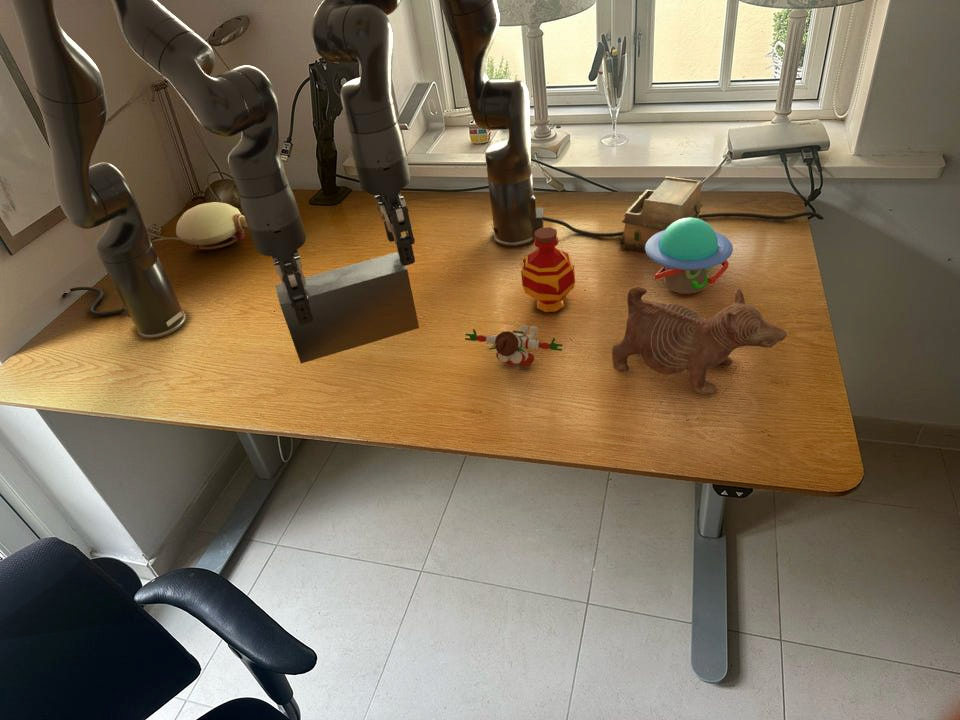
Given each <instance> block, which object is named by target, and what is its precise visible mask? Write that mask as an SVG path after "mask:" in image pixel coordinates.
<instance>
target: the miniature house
mask: <svg viewBox="0 0 960 720" xmlns="http://www.w3.org/2000/svg"><path fill="white" fill-rule="evenodd" d="M702 183H703V181H702V180H699V179H698V180H697V179H690V178H683V177H676V176H675V177H674V176H667V175H666V176H665V177H664V178H663V181H662V182H661V183H660V185H659V186H658V187H657V188H656V189H646V190H644V191H643V193H642V194H641V195H639V196H638V197H637V199H636V200H635V202H634V203H632V205H630V207H628V208H626V211H625V213H624V215H623V217H624V219H623V220H622V221H621V224H624V229H623V231H624V232H623V231H622V232H623V235H622V236H620V238H619V242H620V243H623V249H625V250H630V251H636V252H641V253H646V251H645V245H646V243H647V241H648V240H649V239H650V238H651V237H652V236H653V235H655V234H656V233H658V232H661V231H663V230H666V229H667V227H669V226H670V225H671V224H672V223H673V222H675V221H677V220H679V219H683V218H697V219H699V218H698V217H699V215H700V213H701V208H702V207H703V205H704V204H703V203H701V193H702V192H701V191H702Z"/></svg>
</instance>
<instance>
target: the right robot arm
mask: <svg viewBox="0 0 960 720" xmlns="http://www.w3.org/2000/svg"><path fill="white" fill-rule="evenodd" d="M401 2H402V0H323V1H322V2H321V3H320V4H319V6H318V8H317V10H316V11H315V13H314V16H313V19H312V23H311V30H310V31H311V32H310V34H311V41H312V45H313V48H314V49H315V51H316V53H317V54H318V55H319V56H320V57H321V58H322V59H323V60H325V61H327V62H330V63H334V64H358V65H359V67H360V76H359V77H357V78H354V79H351V80H349V81H347V82H345V84H343V85H342V87H341V88H340V94H339V95H340V101H341V106H342V110H343V111H342V112H343V114H344V118H345V122H346V126H347V130H348V138H349V145H350V149H351V150H350V151H351V153H352V157H353V162H354V166H355V169H356V173H357V178H358V182H359V185H360V188H361V190H362V191H363V192H364V193H366V194H368V195H371V196H372V195H373V196H374V201H375V202H374V203H375V205H376V209H377V211H378V214H379V216H380V219H382V220H381V221H383V225H384V229H385V233H386V237H387V240H388V242H391V243H392V242H393V243H394V245H396V249H397V252H398V254H399V258H400V263H401V264H402V266H406V267H407V266H409V265H413V264H415V263H416V258H415V253H414V248H413V245H415V243H416V239H415V237H414V233H413V228H412V224H411V220H410V216H409V208H408V207H407V202H406V199H405V197H404V196H402V192H401V191H402V190H404V189H405V188H406V187H407V186H408V185H409V184H410V182H411V172H410V168H409V163H408V158H407V153H406V147H405V143H404V138H403V134H402V131H401V128H400V125H399V121H398V117H397V112H396V108H395V103H394V98H393V93H392V82H393V58H394V30H393V27H392V23H391V21H390V19H389V18H388V16H389V15H391V14H393V13H394V12H395V11H396V10H397V9H398V8H399V6H400V4H401ZM439 3H440V7H441V10H442V13H443V16H444V19H445V22H446V25H447V29H448V31H449V34H450V37H451V40H452V43H453V46H454V48H455V53H456V55H457V58H458V62H459V65H460V69H461V74H462V77H463V81H464V86H465V92H466V95H467V100H468V105H469V109H470V113H471V116H472V119H473V121H474V123H475V125H476V127H478V128H479V129H481V130H485V131H503V132H504V131H505V132H507V131H508V137H507V138H504V139H502V140H500V141H497V142H495V143H493V144H491V145H490V146H488V147H487V148H486V150H485V154H484V155H485V157H484V158H485V166H486V175H487V182H488V183H487V184H488V191H489V200H490V201H489V202H490V210H491V216H492V217H491V218H492V219H491V220H492V225H491V229H492V231H493V239H494V241H495V242H496V243H497V244H498V245H502V246H505V247H519V246H524V245H526V244H529V243H531V242H532V241H534V239H535V231H536V230H538V229H540V228H544V222H549V223H554V224H558V225H561V226H563V227H566V228H567V229H568V230H570V231H572V232H574V233H577V234H580V235H583V236H588V237H595V238H612V237H622V235H623V232H624V230H623V231H619V232H590V231H585V230H581V229H578V228H576V227H574V226H573V225H570V224H569V223H568V222H566V221H563V220H560V219H556V218H553V217H547V216H544V208H543V207H537V206H536V204H537V203H536V197H535V195H534V186H533V185H534V183H533V182H534V181H533V172H532V171H533V169H532V155H531V145H532V141H531V139H532V137H531V104H530V103H531V102H530V92H529V89H528V86H527V85H526V83H525V82H524V81H523V80H518V79H513V80H512V79H490V78H489V76H488V73H487V68H486V62H487V58H488V55H489V53H490V51H491V48H492V45H493V44H494V41H495V38H496V36H497V34H498V30H499V26H500V20H501V16H500V9H499V4H498V0H439ZM809 216H810V217H814V218H817V220H819V221H821V220H822V221H823V220H824V219H825V218H824V216H823V215H821V214H820V213H818V212H815V211H803V212H798V213H794V214H789V215H770V214H761V213H752V212H751V213H750V212H714V213H713V212H711V213H701V214H700V213H699V217H698V219H705V218H718V217H737V218H738V217H741V218H757V219H765V220H775V221H776V220H777V221H781V220H782V221H783V220H784V221H785V220H792V219H796V218H802V217H809ZM404 232H405V235H402V233H404Z"/></svg>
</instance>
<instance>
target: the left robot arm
mask: <svg viewBox="0 0 960 720" xmlns="http://www.w3.org/2000/svg"><path fill="white" fill-rule="evenodd" d="M110 2H111V4H112V6H113V9H114V12H115V15H116V19H117V22H118V25H119V28H120V32H121V33H122V36H123V37H124V39H125V41H126V43H127V44H128V45H129V47H130V48H131V49H132V51H133V52H134V53H135V55H137V56H138V57H139V58H140V59H141V60H143V61H144V63H146V64H147V65H148V66H149V67H151V68H152V69H153V70H154V71H155V72H157V73H158V74H159V75H161V77H163V78H164V79H165V80H166V81H168V82H169V83H170V84H171V85H172V87H173V88H174V89H175V91H176V92H177V94H178V95H179V96H180V98H181V99H182V100H183V102H184V103H185V104H186V106H187V107H188V109H189V110H190V111H191V113H192V114H193V116H194V118H195V119H196V120H197V121H198V123H199V124H200V125H201V126H202V127H203V128H204V129H205V130H207V131H209V132H210V133H211V134H213V135H216V136H220V137H224V138H229V137H233V136H235V135H238V134H240V133H241V137H240V140H239V142H238V143H236V145H235V146H234V147H233V148H232V149H231V151H229V153H228V156H227V164H228V169H229V170H230V175H231V176H232V177H231V178H232V180H233V182H234V185H235V189H236V191H237V194H238V197H239V202H240V208H241V210H242V213H243V214H242V215H243V216H244V217H245V219H246V222H247V225H248V228H249V230H248V231H249V234H250V236H251V239H252V242H253V245H254V248H255V250H256V252H257V253H258V254H260V255H262V256H264V257H271V258H272V261H273V262H272V263H273V267H274V269H275V272H276V274H278V277H279V279H280V282H281V283H280V284H282V286H283V289H284V291H286V292H288V295H289V298H290V303H291V307H293V309H295V312H296V315H297V318H298V321H299V324H301V325H303V324H307V323H310V322H312V321H313V317H312V314H311V311H310V308H309V299H308V296H306V293H305V289H304V287H305V286H306V281H305V275H304V272H303V263H302V259H301V256H300V254H299V251H298V250H300V248H302V247H303V246H304V245H305V243H306V241H307V234H306V231H305V228H304V223H303V221H302V218H301V214H300V211H299V206H298V204H297V200H296V197H295V195H294V192H293V190H292V188H291V185H290V183H289V180H288V177H287V172H286V169H285V166H284V163H283V160H282V157H281V134H280V133H281V131H280V110H279V102H278V97H277V94H276V92H275V91H276V90H275V88H274V87H273V85H272V83H271V81H270V79H269V78H268V77H267V76H266V74H265V73H264V72H263V71H262V70H260V69H259V68H257V67H255V66H252V65H241V66H237V67H234V68H232V69H230V70H228V71H226V72H223V73H220V74H219V75H216V76H213V77H211V74H212V73H213V71H214V67H215V64H216V56H215V53H214V50H213V49H212V47H211V46H210V45H209V43H207V42H206V41H205V39H203V38H202V37H201V36H199V35H198V34H197V33H196V32H194V30H193V29H191V28H190V27H188V26H187V25H186V24H185V23H184V22H183V21H181V19H179V18H178V17H176V16H175V15H174V14H173V13H171V11H169V10H168V9H167V8H166V7H165V6H164V5H162V4H161V3H160V2H159V1H158V0H110ZM10 3H11V5H12V9H13V12H14V15H15V17H16V20H17V24H18V26H19V29H20V33H21V36H22V41H23V44H24V48H25V52H26V55H27V59H28V64H29V68H30V73H31V78H32V83H33V87H34V91H35V95H36V99H37V102H38V103H37V104H38V107H39V110H40V112H41V116H42V120H43V124H44V127H45V131H46V135H47V140H48V144H49V150H50V157H51V164H52V174H53V182H54V188H55V193H56V197H57V200H58V203H59V205H60V208H61V210H62V211H63V214H64V215H65V217H66V218H67V219H68V220H69V221H70V222H71V224H73V225H75V226H76V227H77V228H79V229H80V228H81V229H83V230H89V229H93V228H97V227H100V226H101V225H104V224H106V223H108V225H107V226H106V229H105V230H104V231H103V233H102V234H101V235H100V236H99V237H98V239H97V240H96V242H95V251H96V254H97V255H98V258H99V259H100V261H101V263H102V266H103V267H104V269H105V270H106V273H107V274H108V276H109V278H110V280H111V282H112V284H113V285H114V288H115V290H116V292H117V293H118V296H119V297H120V299H121V301H122V303H123V306H122V308H121V309H118V310H117V309H116V310H112V311H111V310H110V311H102V312H101V311H100V312H99V311H95V310H94V309H95V308H96V306H97V305H98V304H99V302H100V301H101V300H102V299H103V298H104V291H103V290H102V289H100V288H98V287H92V286H76V287H72V288H71V287H70V288H69V289H70V291H71V292H69V293H64V292H63V293H64V294H63V293H62V294H63V295H61V297H62V298H65V297H66V296H67V295H68V294H70V293H72V292H76V291H91V292H96V293H99V294H98V297H97V298H96V299H95V300H94V301H93V302H92V304H91V305H90V307H89V309H88V310H89V313H90V314H91V315H93V316H98V317H105V316H106V317H107V316H113V315H118V314H123V313H125V314H126V316H127V317H128V318H131V320H132V322H133V324H134V326H135V328H136V331H137V333H138V335H139V336H140V337H142V338H144V339H150V340H151V339H158V338H162V337H166V336H168V335H171V334H172V333H175V332H176V331H178V330H180V329H181V328H182V327H183V326H184V324H185V323H186V321H187V316H186V314H185V311H183V308H182V306H181V304H180V301H179V300H178V297H177V295H176V293H175V291H174V288H173V286H172V285H171V282H170V280H169V278H168V276H167V274H166V271H165V269H164V266H163V265H162V263H161V261H160V259H159V257H158V255H157V252H156V250H155V248H154V245H153V244H152V241H151V240H150V237H149V231H148V227H147V225H146V222H145V220H144V218H143V216H142V213H141V210H140V207H139V205H138V203H137V199H136V197H135V195H134V192H133V190H132V188H131V186H130V184H129V182H128V181H127V179H126V177H125V176H124V174H123V173H122V172H121V171H120V170H119V169H118V168H117V167H116V166H115V165H113V164H112V163H109V162H103V161H102V162H99V163H95V164H93V165H91V161H92V158H93V155H94V153H95V151H96V148H97V147H98V144H99V141H100V140H101V137H102V134H103V132H104V129H105V126H106V123H107V120H108V104H107V97H106V92H105V91H106V90H105V86H104V85H105V84H104V80H103V76H102V73H101V71H100V69H99V68H98V66H97V65H96V63H95V62H94V60H93V59H92V58H91V57H90V56H89V55H88V54H87V53H86V52H85V50H84V49H82V48H81V47H80V46H79V45H78V44H77V43H76V42H75V41H74V40H73V39H72V38H71V37H70V36H69V35H68V34H67V33H66V32H65V31H64V29H63V28H62V27H61V24H60V22H59V19H58V17H57V13H56V9H55V4H54V3H55V2H54V0H10ZM90 165H91V166H90ZM296 281H297V282H296ZM290 284H291V285H290ZM301 294H302V296H298V297H295V298H293V297H294V296H297V295H301Z"/></svg>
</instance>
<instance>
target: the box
mask: <svg viewBox="0 0 960 720" xmlns="http://www.w3.org/2000/svg"><path fill="white" fill-rule="evenodd" d="M408 270H409V269H408V268H407V265H406V266H402V264H401V263H400V258H399V254H398V251H396V252H393V253H388V254H386V255H381V256H378V257H375V258H374V257H373V258H370V259H367V260H363V261H359V262H356V263H352V264H348V265H345V266H341V267H337V268H334V269H331V270H326V271H324V272H320V273H316V274H313V275H309V276H304V278H305V281H306V286H305V287H304V289H305V293H306V296H308V299H309V308H310V311H311V314H312V317H313V321H312V322H310V323H307V324H303V325H301V324H299V321H298V318H297V315H296V312H295V309H293V307H291V303H290V298H289V295H288V292H286V291H284V289H283V286H282V283H279V284H276V285H275V291H276V295H277V298H278V303H279V306H280V309H281V312H282V315H283V317H284V320H285V323H286V326H287V328H288V332H289V334H290V337H291V340H292V343H293V346H294V349H295V351H296V354H297V357H298V360H299V363H300V365H302V364H305V363H308V362H311V361H315V360H317V359H318V360H319V359H322V358H325V357H328V356H331V355H335V354H338V353H342V352H344V351H349V350H352V349H355V348H358V347H361V346H366V345H369V344H371V343H375V342H378V341H382V340H384V339H388V338H391V337H392V338H393V337H395V336H399V335H401V334H405V333H408V332H411V331H415V330H417V329H420V325H419V320H418V315H417V310H416V304H415V301H414V296H413V291H412V290H413V289H412V286H411V280H410V276H409V271H408ZM296 282H297V281H296ZM290 285H291V284H290ZM298 296H302V294H301V295H297V296H294V297H293V298H295V297H298Z"/></svg>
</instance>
